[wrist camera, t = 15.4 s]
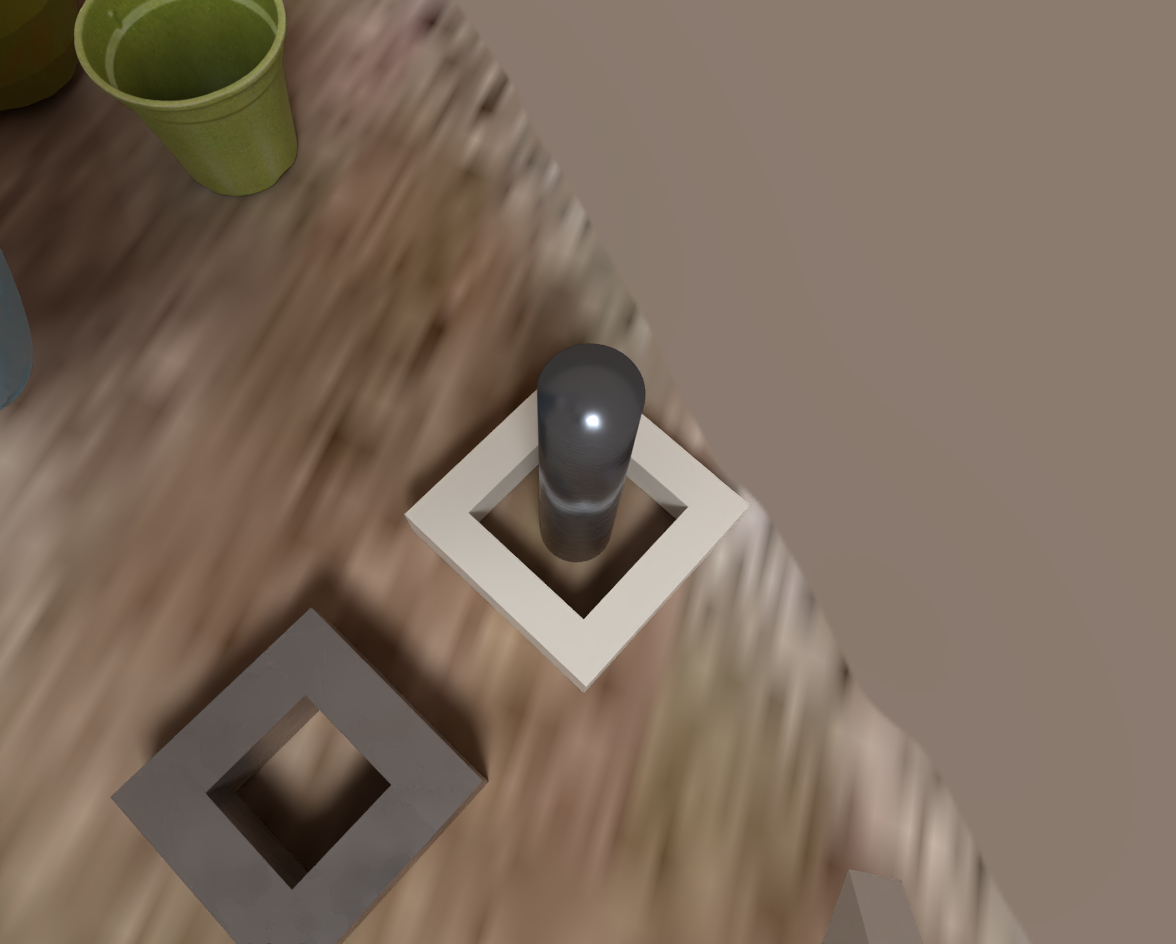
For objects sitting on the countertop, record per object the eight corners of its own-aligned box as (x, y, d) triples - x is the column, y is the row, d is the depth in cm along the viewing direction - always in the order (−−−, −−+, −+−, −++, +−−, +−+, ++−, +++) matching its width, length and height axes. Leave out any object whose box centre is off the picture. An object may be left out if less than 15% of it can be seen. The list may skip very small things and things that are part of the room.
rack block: (412, 530, 41) (404, 514, 38) (571, 378, 44) (572, 355, 41) (583, 692, 38) (586, 686, 36) (738, 521, 42) (749, 505, 39)
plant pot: (342, 206, 47) (299, 83, 39) (163, 240, 46) (80, 120, 37) (314, 74, 50) (269, -66, 42) (146, 103, 49) (65, -35, 40)
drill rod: (525, 528, 41) (514, 393, 27) (574, 479, 42) (588, 324, 28) (577, 576, 40) (594, 463, 26) (626, 525, 41) (667, 390, 27)
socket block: (149, 796, 36) (110, 797, 33) (331, 622, 39) (311, 607, 36) (309, 978, 34) (284, 998, 31) (488, 781, 37) (482, 780, 34)
